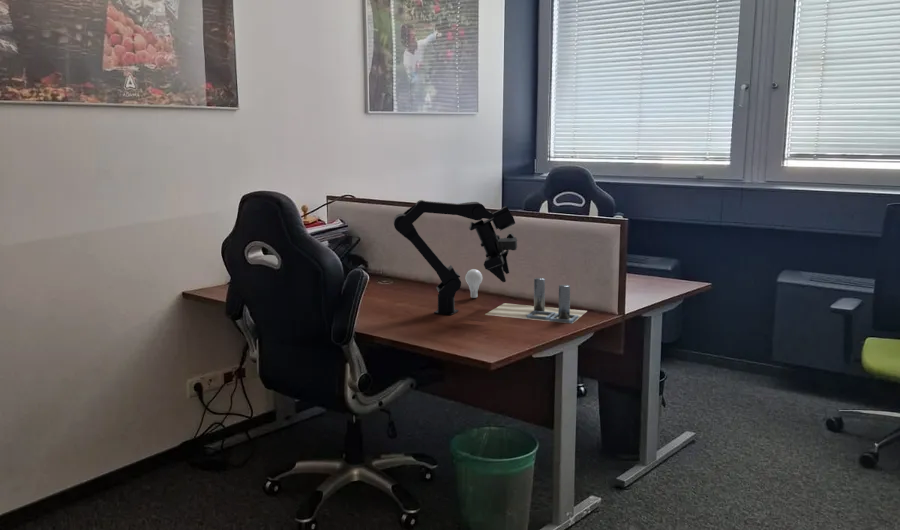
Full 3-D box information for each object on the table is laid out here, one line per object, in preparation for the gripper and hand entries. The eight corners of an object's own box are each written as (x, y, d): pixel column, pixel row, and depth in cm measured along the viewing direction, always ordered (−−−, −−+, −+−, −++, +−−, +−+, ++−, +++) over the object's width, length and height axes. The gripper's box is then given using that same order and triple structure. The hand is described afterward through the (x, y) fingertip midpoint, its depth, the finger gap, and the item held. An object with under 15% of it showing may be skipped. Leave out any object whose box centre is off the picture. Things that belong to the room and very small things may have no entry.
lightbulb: (482, 300, 275) (482, 270, 273) (465, 300, 275) (465, 270, 274) (482, 296, 282) (482, 267, 280) (465, 296, 282) (465, 267, 280)
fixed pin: (567, 321, 239) (568, 287, 237) (556, 320, 241) (557, 286, 239) (571, 318, 242) (571, 285, 240) (560, 317, 244) (560, 284, 242)
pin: (542, 312, 251) (543, 280, 249) (532, 311, 252) (532, 279, 251) (546, 310, 254) (546, 278, 252) (535, 309, 256) (536, 277, 254)
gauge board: (572, 327, 237) (572, 320, 236) (484, 318, 249) (484, 312, 249) (587, 314, 253) (587, 308, 252) (504, 306, 265) (504, 301, 265)
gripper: (506, 235, 243) (525, 278, 246) (512, 221, 260) (530, 261, 264) (475, 247, 246) (494, 289, 249) (483, 232, 264) (501, 272, 267)
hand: (506, 277), depth 257 cm, fingers open, 9 cm apart
